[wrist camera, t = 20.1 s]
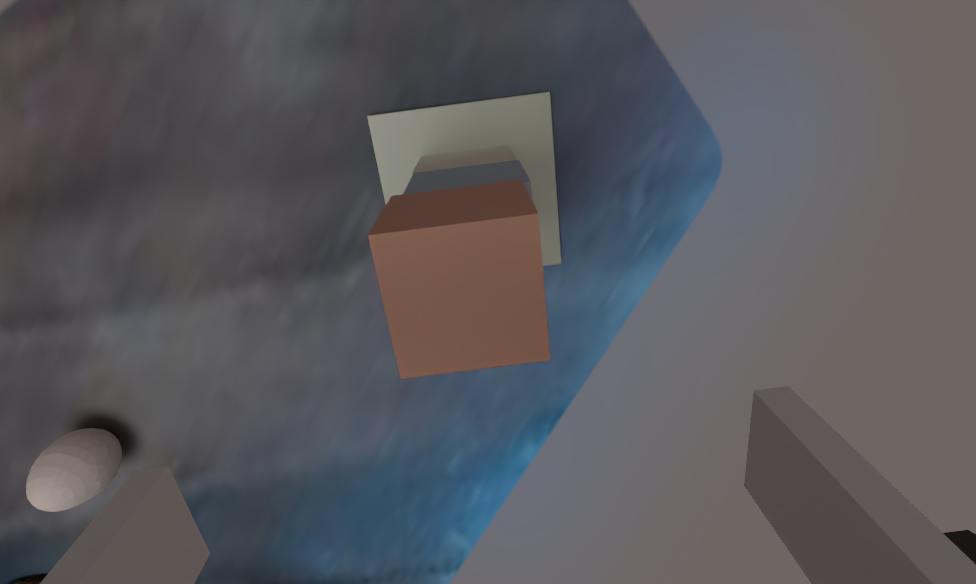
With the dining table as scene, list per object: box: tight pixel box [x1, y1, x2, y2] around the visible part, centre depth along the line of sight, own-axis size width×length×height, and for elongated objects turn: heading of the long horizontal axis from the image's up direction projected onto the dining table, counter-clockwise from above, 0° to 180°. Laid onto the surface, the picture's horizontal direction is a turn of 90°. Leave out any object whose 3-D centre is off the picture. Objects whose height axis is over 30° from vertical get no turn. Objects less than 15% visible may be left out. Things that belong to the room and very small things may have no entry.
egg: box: [26, 428, 122, 512], centre depth 40 cm, size 5×5×7 cm
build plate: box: [367, 92, 561, 266], centre depth 36 cm, size 12×12×1 cm
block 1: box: [412, 145, 516, 176], centre depth 33 cm, size 6×6×6 cm
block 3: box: [368, 179, 550, 379], centre depth 22 cm, size 6×6×6 cm
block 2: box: [403, 160, 532, 199], centre depth 27 cm, size 6×6×6 cm
